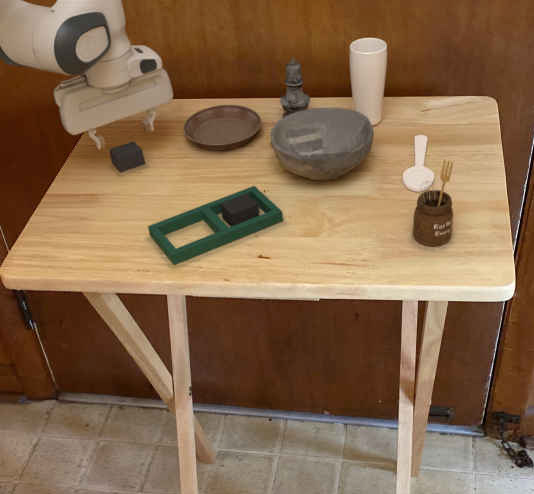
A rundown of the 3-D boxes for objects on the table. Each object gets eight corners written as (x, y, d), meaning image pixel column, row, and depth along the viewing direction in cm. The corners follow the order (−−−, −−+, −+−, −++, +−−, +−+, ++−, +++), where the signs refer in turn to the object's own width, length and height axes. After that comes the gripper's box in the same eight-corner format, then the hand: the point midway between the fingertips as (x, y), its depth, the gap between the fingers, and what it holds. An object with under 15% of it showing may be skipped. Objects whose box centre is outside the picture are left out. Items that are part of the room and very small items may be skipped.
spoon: (436, 137, 149) (436, 134, 149) (433, 192, 136) (433, 189, 136) (406, 136, 150) (406, 134, 150) (401, 191, 137) (401, 188, 137)
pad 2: (233, 229, 133) (231, 214, 131) (222, 218, 136) (220, 203, 134) (260, 219, 135) (258, 204, 133) (248, 207, 137) (246, 192, 135)
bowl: (348, 133, 153) (348, 94, 147) (391, 179, 140) (392, 138, 135) (258, 157, 149) (255, 117, 144) (294, 206, 137) (291, 165, 131)
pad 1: (120, 172, 149) (117, 158, 147) (112, 163, 152) (108, 149, 149) (145, 163, 150) (142, 149, 148) (136, 154, 153) (133, 140, 151)
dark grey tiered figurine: (309, 124, 157) (306, 64, 149) (279, 123, 158) (274, 65, 150) (312, 109, 161) (310, 50, 153) (283, 109, 162) (279, 51, 154)
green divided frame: (174, 265, 127) (172, 255, 126) (149, 235, 134) (147, 226, 132) (283, 221, 134) (282, 211, 132) (255, 195, 140) (254, 185, 139)
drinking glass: (388, 113, 157) (390, 38, 147) (382, 130, 153) (383, 54, 143) (353, 111, 159) (353, 36, 149) (346, 128, 154) (345, 52, 144)
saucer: (251, 158, 149) (250, 145, 147) (175, 154, 152) (173, 141, 150) (270, 118, 159) (269, 106, 158) (198, 115, 163) (196, 103, 161)
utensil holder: (405, 239, 128) (408, 173, 120) (427, 219, 131) (432, 154, 123) (437, 252, 125) (442, 186, 116) (459, 232, 128) (466, 166, 120)
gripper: (56, 92, 133) (77, 165, 142) (169, 56, 139) (182, 128, 149) (44, 78, 137) (65, 150, 146) (155, 43, 143) (168, 114, 153)
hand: (125, 138), depth 148 cm, fingers open, 8 cm apart
